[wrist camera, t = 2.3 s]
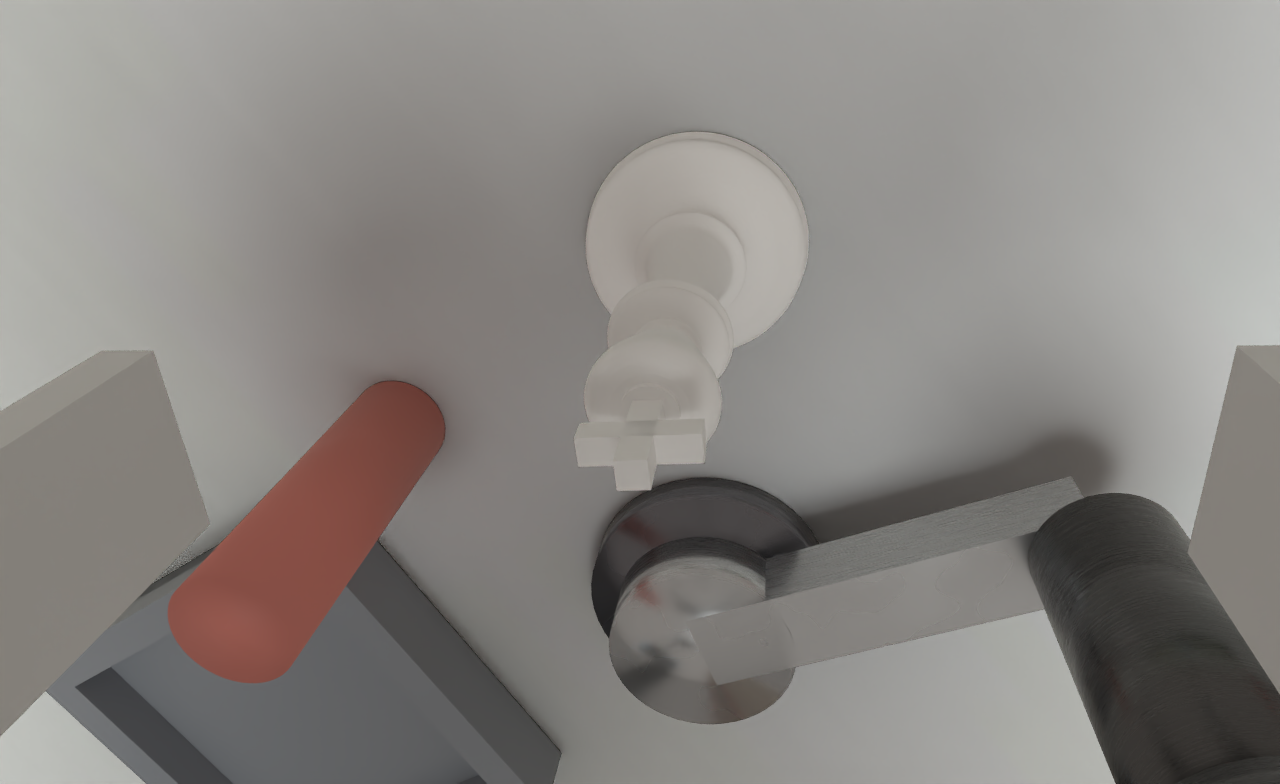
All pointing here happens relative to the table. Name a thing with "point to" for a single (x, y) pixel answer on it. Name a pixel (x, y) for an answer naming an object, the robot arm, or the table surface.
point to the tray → (309, 699)
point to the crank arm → (970, 622)
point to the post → (306, 538)
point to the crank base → (691, 529)
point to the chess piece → (682, 293)
